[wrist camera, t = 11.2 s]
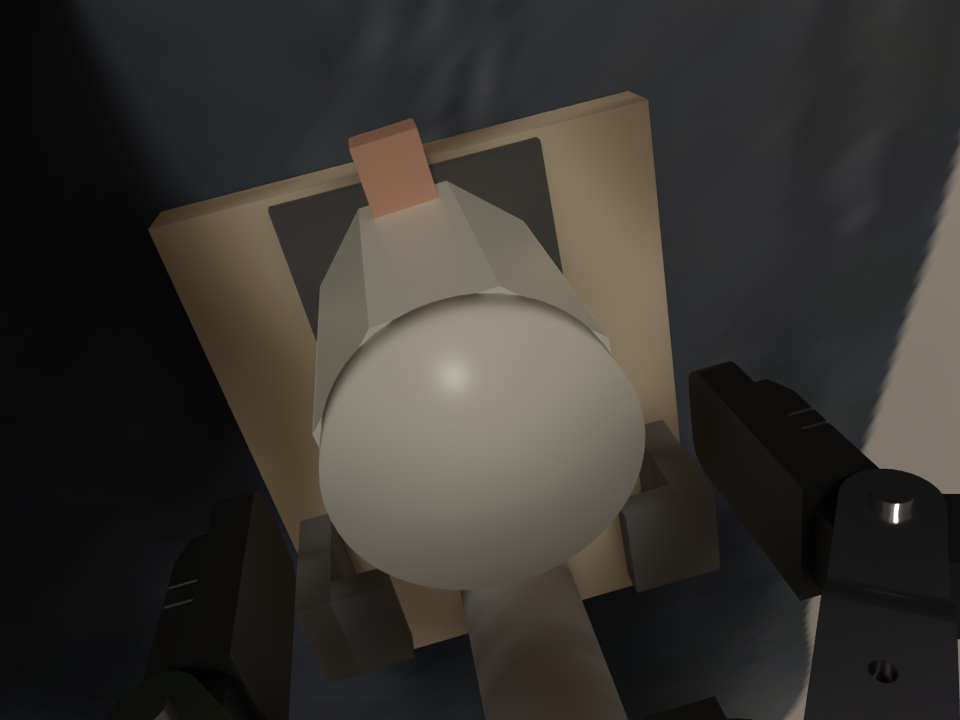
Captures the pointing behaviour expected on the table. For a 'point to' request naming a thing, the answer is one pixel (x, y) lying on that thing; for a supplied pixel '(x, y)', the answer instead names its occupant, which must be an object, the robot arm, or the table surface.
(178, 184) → the table surface
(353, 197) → the mat
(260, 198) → the bulb mounting plate
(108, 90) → the table surface
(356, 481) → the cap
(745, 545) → the table surface
